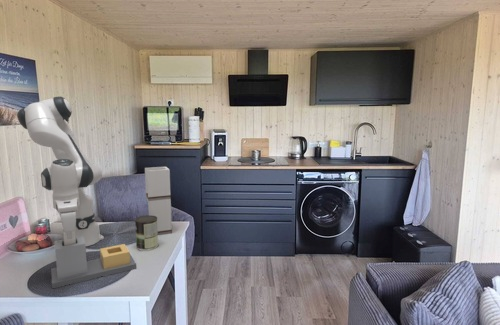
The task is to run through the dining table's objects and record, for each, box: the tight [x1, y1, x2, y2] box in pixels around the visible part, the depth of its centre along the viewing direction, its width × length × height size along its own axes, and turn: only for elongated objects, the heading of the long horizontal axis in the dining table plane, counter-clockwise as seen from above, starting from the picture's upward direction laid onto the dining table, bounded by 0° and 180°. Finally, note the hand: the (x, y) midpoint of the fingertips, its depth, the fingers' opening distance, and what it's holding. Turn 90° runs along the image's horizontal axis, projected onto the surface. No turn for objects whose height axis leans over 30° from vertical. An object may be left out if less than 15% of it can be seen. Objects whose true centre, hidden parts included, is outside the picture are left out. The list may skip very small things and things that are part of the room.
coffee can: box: [134, 214, 159, 251], centre depth 156 cm, size 10×10×14 cm
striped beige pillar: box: [144, 166, 173, 236], centre depth 175 cm, size 11×11×35 cm
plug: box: [62, 229, 76, 246], centre depth 126 cm, size 4×4×10 cm
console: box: [50, 236, 137, 289], centre depth 132 cm, size 14×30×14 cm, turn 122°
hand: (69, 236), depth 126 cm, fingers closed on plug, 4 cm apart
